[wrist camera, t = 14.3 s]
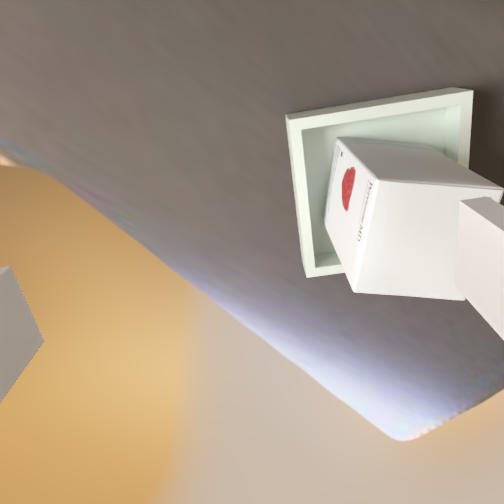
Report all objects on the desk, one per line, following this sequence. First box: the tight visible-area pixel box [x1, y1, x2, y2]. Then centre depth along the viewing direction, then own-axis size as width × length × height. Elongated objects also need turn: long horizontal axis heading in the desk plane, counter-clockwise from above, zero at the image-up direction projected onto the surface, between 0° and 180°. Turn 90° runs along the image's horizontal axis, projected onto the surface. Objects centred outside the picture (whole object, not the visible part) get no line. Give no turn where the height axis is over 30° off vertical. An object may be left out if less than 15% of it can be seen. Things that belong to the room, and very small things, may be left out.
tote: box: [285, 87, 473, 278], centre depth 42 cm, size 16×16×4 cm
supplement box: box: [322, 137, 504, 301], centre depth 36 cm, size 9×9×15 cm
